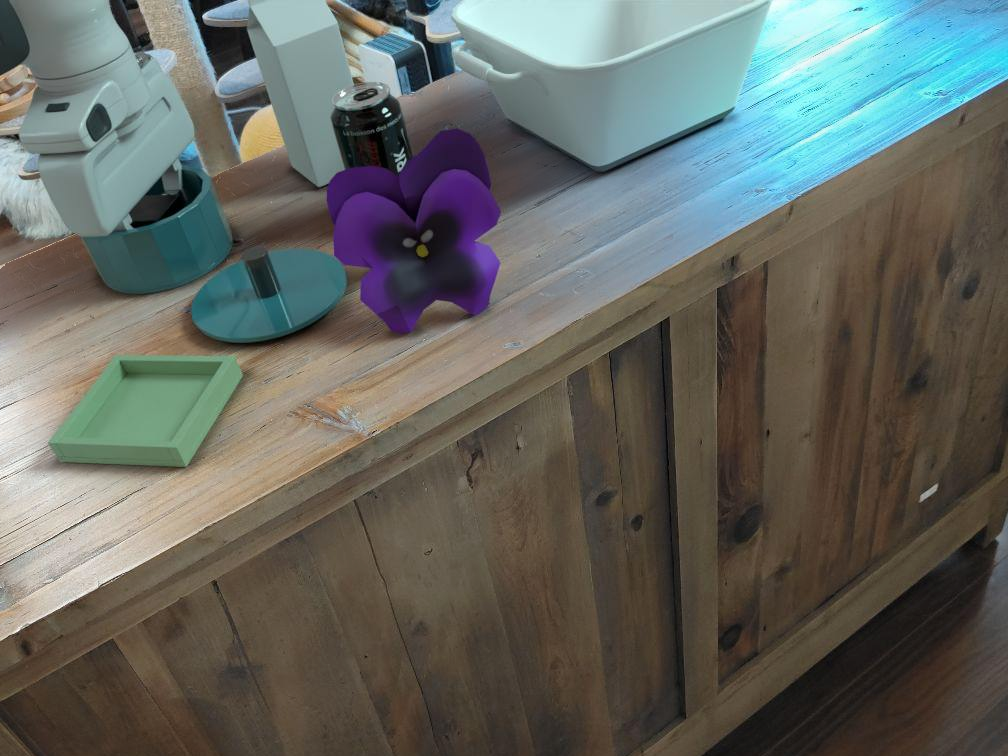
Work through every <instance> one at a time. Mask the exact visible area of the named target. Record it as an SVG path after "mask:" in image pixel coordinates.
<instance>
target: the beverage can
mask: <svg viewBox="0 0 1008 756" xmlns="http://www.w3.org/2000/svg"><path fill="white" fill-rule="evenodd" d="M332 102H333V105H334V106H335V107H334V110H333V111H332V113H331V123H332V127H333V131H334V134H335V137H336V141H337V144H338V148H339V151H340V155H341V158H342V162H343V165H344V169H345V170H346V169H349V168H355V167H365V166H375V167H381V168H386V169H388V170H389V171H391V172H393V173H394V174H396V175H398V176H399V173H400V171H401V170H402V168H403V167H404V165H405V163H406V162H407V161H409V160H410V159H411V158H413V157H414V155H413V152H412V148H411V144H410V138H409V135H408V130H407V126H406V122H405V118H404V114H403V110H402V105H401V103H400V100H399V99H398V98H397V97H395V96H394V95H392V94H391V89H390V86H389V85H388V84H386V83H384V82H379V81H365V82H360V83H354V85H352V86H349V87H346V88H344V89H342V90H341V91H339V92H338V93H336V94H335V95H334V97H333V99H332Z"/></svg>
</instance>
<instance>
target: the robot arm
mask: <svg viewBox="0 0 1008 756" xmlns="http://www.w3.org/2000/svg"><path fill="white" fill-rule="evenodd" d="M19 66H24V67H27V68H28V69H29V71H30V73H31V75H32V77H33V79H34V81H35V83H36V85H37V86H36V87H35V88H34V90H33V93H32V98H31V101H30V103H29V108H28V109H27V112H26V115H25V116H24V118H23V121H22V123H21V125H20V127H19V131H18V138H19V140H20V143H21V145H22V146H23V148H24V150H25V151H26V152H27V153H28V154H36V155H38V158H37V168H38V174H39V177H40V180H41V182H42V184H43V186H44V189H45V191H46V193H47V195H48V197H49V198H50V200H51V202H52V205H53V207H54V208H55V210H56V212H57V214H58V215H59V217H60V219H61V221H62V222H63V224H64V225H65V228H67V230H68V231H70V232H71V233H72V234H75V235H76V236H78V237H80V236H81V237H98V236H107V235H109V234H110V233H111V232H112V231H125V230H130V229H134V228H133V227H132V226H131V225H130V224H131V223H132V219H131V217H130V214H129V212H130V211H131V210H132V209H133V208H134V206H135V205H136V204H137V203H138V202H139V201H140V200H141V199H142V197H143V196H144V195H145V194H146V193H147V192H148V191H149V190H150V188H151V187H152V186H153V185H154V184H155V183H156V182H157V181H158V179H159V178H160V177H161V176H162V181H163V186H164V190H165V191H164V192H163V193H162V194H161V195H179V196H180V198H181V200H182V203H183V205H185V204H186V203H187V202H188V198H187V196H186V194H185V191H184V189H183V178H182V163H181V161H180V158H179V157H180V156H181V155H182V154H183V153H184V151H186V149H187V148H188V147H189V146H190V145H191V144H192V142H194V140H195V126H194V122H193V120H192V118H191V116H190V113H189V111H188V109H187V107H186V105H185V103H184V101H183V99H182V98H181V95H180V93H179V92H178V89H177V88H176V86H175V84H174V83H173V82H172V79H171V78H170V77H169V75H167V74H166V73H164V72H163V69H162V67H161V64H160V63H159V61H158V59H157V58H156V57H154V56H152V55H151V54H149V53H146V52H144V51H138V52H137V53H135V52H134V50H133V47H132V45H131V43H130V41H129V38H128V37H127V35H126V34H125V31H123V29H121V27H120V25H119V24H118V23H117V21H116V19H115V17H114V15H113V13H112V9H111V4H110V0H0V77H1V76H3V75H5V74H7V73H9V72H10V71H12V70H14V69H15V68H17V67H19Z"/></svg>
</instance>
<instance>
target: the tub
mask: <svg viewBox="0 0 1008 756" xmlns="http://www.w3.org/2000/svg"><path fill="white" fill-rule="evenodd" d="M772 2H773V0H461V1H460V2H458V3H457V4H456V5H455V6H454V7H453V8H452V9H451V15H450V20H451V21H452V22H453V23H454V24H455V27H456V28H457V30H458V31H459V33H460V35H461V37H462V38H463V41H464V43H461V44H458V45H456V46H455V47H453V48H452V50H451V57H452V59H453V60H454V62H455V65H456V66H457V67H458V68H459V69H461V70H462V71H463V72H465V73H467V74H469V75H470V76H473V77H474V78H476V79H478V80H481V81H484V82H486V83H487V85H488V87H489V89H490V90H491V93H492V94H493V96H494V97H495V100H496V102H497V103H498V105H499V107H500V109H501V110H502V112H503V114H504V116H505V117H506V118H507V120H508V122H509V123H511V124H512V125H514V126H516V127H517V128H519V129H521V130H523V131H524V132H526V133H528V134H530V135H532V136H533V137H536V139H539V140H541V141H542V142H544V143H546V144H547V145H550V146H551V147H553V148H555V149H556V150H558V151H560V152H562V153H563V154H565V155H566V156H569V157H571V158H572V159H574V160H576V161H578V162H579V163H581V164H583V165H585V166H586V167H588V168H590V169H592V170H593V171H596V172H597V173H603V172H606V171H610V170H611V169H614V168H615V167H618V166H620V165H622V164H625V163H627V162H629V161H631V160H634V159H635V158H637V157H640V156H642V155H644V154H647V153H649V152H651V151H653V150H655V149H656V150H657V148H660V147H662V146H664V145H666V144H669V143H671V142H673V141H675V140H677V139H680V138H682V137H684V136H686V135H689V134H691V133H693V132H695V131H697V130H701V129H702V128H704V127H706V126H708V125H710V124H711V125H712V123H715V122H717V121H719V120H721V119H724V118H727V117H728V116H729V115H730V114H732V112H733V111H734V110H735V109H736V106H737V104H738V100H739V98H740V96H741V92H742V90H743V87H744V83H745V81H746V78H747V74H748V72H749V70H750V67H751V63H752V60H753V58H754V54H755V51H756V49H757V46H758V43H759V40H760V37H761V34H762V32H763V29H764V26H765V22H766V20H767V17H768V14H769V12H770V8H771V5H772ZM468 50H469V52H470V53H469V52H467V51H468Z"/></svg>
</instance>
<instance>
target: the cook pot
mask: <svg viewBox="0 0 1008 756" xmlns="http://www.w3.org/2000/svg"><path fill="white" fill-rule="evenodd" d="M181 165H182V178H183V189H184V191H185V194H186V196H187V198H188V202H187V203H186V204H185V205H184V209H182V210H181V211H179V212H178V213H176V214H175V215H173V216H170V217H168V218H165V219H163V220H161V221H158V222H156V223H153V224H151V225H148V226H143V227H139V228H134V229H130V230H125V231H112V232H111V233H110V234H109V235H107V236H98V237H81V236H79V238H80V239H81V242H82V244H83V246H84V247H85V248H84V249H86V251H87V253H88V255H89V257H90V259H91V261H92V263H93V266H94V267H95V269H96V271H97V273H98V274H99V276H100V277H101V279H102V281H103V283H104V284H105V285H106V286H107V287H109V288H110V289H111V290H113V291H116V292H119V293H123V294H130V295H147V294H155V293H160V292H165V291H169V290H172V289H175V288H179V287H182V286H185V285H187V284H189V283H191V282H194V281H196V280H198V279H200V278H202V277H203V276H205V275H206V274H208V273H210V272H211V271H213V270H214V269H216V268H217V267H218V266H219V265H220V264H222V263H223V261H224V260H225V259H226V258H227V257H228V255H229V254H230V252H231V250H232V248H233V243H234V239H233V236H232V229H231V226H230V224H229V221H228V219H227V218H228V217H227V216H226V213H225V211H224V208H223V206H222V204H221V201H220V198H219V195H218V193H217V190H216V188H215V185H214V183H213V181H212V178H211V176H210V175H208V173H206V172H205V170H203V169H202V168H200V167H196V166H192V165H187V164H182V163H181ZM164 191H165V190H164V186H163V181H162V176H161V177H160V178H159V179H158V181H157V182H156V183H155V184H154V185H153V186H152V187H151V188H150V190H149V191H148V192H147V193H146V194H145V195H144V196H148V195H161V194H162V193H163V192H164Z"/></svg>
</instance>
